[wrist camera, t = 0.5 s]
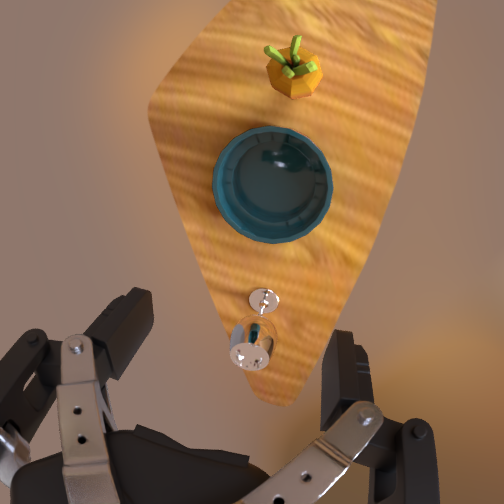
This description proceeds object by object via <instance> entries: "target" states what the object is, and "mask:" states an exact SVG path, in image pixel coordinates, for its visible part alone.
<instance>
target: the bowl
mask: <svg viewBox="0 0 504 504" xmlns="http://www.w3.org/2000/svg"><path fill="white" fill-rule="evenodd" d="M212 189H213V194H214V198H215V203H216V206H217V207H218V209H219V211H220V213H221V214H222V216H223V218H224V219H225V221H226V222H227V223H228V224H230V225H231V226H232V227H233V228H234V229H235V230H236V231H237V232H238V233H240V234H242V235H244V236H246V237H248V238H250V239H252V240H255V241H259V242H264V243H270V244H277V243H286V242H291V241H294V240H296V239H298V238H301V237H303V236H305V235H307V234H308V233H309V232H311V231H312V230H313V229H314V228H315V227H316V226H317V225H319V224H320V223H321V221H322V219H323V218H324V216H325V214H326V213H327V211H328V209H329V207H330V203H331V198H332V193H333V181H332V174H331V169H330V167H329V165H328V163H327V161H326V158H325V156H324V154H323V153H322V151H321V150H320V148H319V147H318V146H317V145H316V144H315V143H314V142H313V141H312V140H311V139H310V138H309V137H308V136H306V135H304V134H302V133H300V132H298V131H296V130H294V129H292V128H287V127H280V126H265V127H259V128H254V129H250V130H248V131H246V132H244V133H242V134H241V135H239V136H237V137H235V138H234V139H233V140H232V141H231V142H230V143H229V144H228V145H227V146H226V147H225V148H224V149H223V151H222V152H221V153H220V155H219V158H218V160H217V162H216V165H215V167H214V170H213V181H212Z"/></svg>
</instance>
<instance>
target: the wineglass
mask: <svg viewBox="0 0 504 504" xmlns="http://www.w3.org/2000/svg"><path fill="white" fill-rule="evenodd" d="M249 303H250V305H251V307H252V308H253V309H254V310H255V311H257V312H259V314H258V315H249V316H246V317H244V318H242V319H241V320H239V321H238V322H237V324H236V325H235V327H234V329H233V331H232V334H231V339H230V357H231V360H232V361H233V362H234V363H235V364H236V365H237V366H239V367H240V368H243V369H245V370H251V371H255V370H260V369H263V368H264V367H266V366H267V364H268V363H269V361H270V360H271V358H272V356H273V354H274V352H275V349H276V345H277V340H278V338H277V330H276V328H275V326H274V325H273V323H272V322H271V321H270V320H269V319H267V318H265V317H263V316H262V313H270V312H273V311H274V310H275V309H276V308H277V307H278V304H279V299H278V297H277V295H276V294H275V293H274V292H273V291H271V290H269V289H266V288H260V289H256V290H254V291H253V292H252V293H251V294H250V297H249Z"/></svg>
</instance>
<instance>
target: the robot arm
mask: <svg viewBox="0 0 504 504" xmlns="http://www.w3.org/2000/svg"><path fill="white" fill-rule="evenodd" d="M153 322H154V314H153V304H152V294H151V292H150V291H148V290H144V289H140V288H137V287H134V288H132V290H131V291H130V292H129V293H128V294H127V295H126V296H124V295H122V296H120V297H118V298H116V299H114V300H113V301H112V302H111V303H110V304H109V305H108V306H107V308H106V309H104V311H103V312H102V313H101V314H100V315H99V317H97V318H96V320H95V321H94V322H93V323H92V324H91V325H90V326H89V328H88V329H87V330H86V331H85V332H84V333H83V334H75V335H71V336H69V337H68V338H66V339H65V340H64V341H54V340H48V338H47V335H46V333H45V332H44V331H43V330H41V329H31V330H28V331H26V332H25V333H24V334H23V335H22V336H21V337H20V338H19V339H18V340H17V342H16V343H15V344H14V345H13V346H12V348H11V349H10V350H9V351H8V352H7V353H6V355H5V356H4V357H3V358H2V360H1V361H0V481H1V482H2V483H3V484H5V485H6V486H7V487H8V488H10V497H11V500H10V504H314V503H315V502H316V501H317V500H318V499H319V498H320V497H321V496H322V495H323V494H324V493H325V492H326V491H327V490H328V489H329V488H330V487H331V486H332V485H333V484H334V483H335V482H336V481H337V480H338V479H339V477H340V476H341V475H342V474H343V473H344V472H345V471H346V470H347V469H348V467H349V466H350V465H351V463H352V462H355V463H359V464H361V465H365V466H367V467H370V476H369V494H368V504H440V494H439V478H438V468H437V459H436V458H437V457H436V449H435V441H434V434H433V430H432V428H431V427H430V425H429V424H428V423H427V422H426V421H424V420H422V419H418V418H414V419H410V420H408V421H407V422H406V423H405V424H402V423H399V422H396V421H393V420H390V419H387V418H386V417H384V416H383V414H382V411H381V410H380V408H378V406H376V405H375V404H374V397H373V389H372V382H371V375H370V368H369V362H368V356H367V353H366V352H365V350H364V349H363V347H362V346H361V345H355V344H354V340H353V334H352V332H348V331H342V330H336V329H335V330H334V332H333V334H332V336H331V339H330V341H329V344H328V347H327V349H326V352H325V355H324V358H323V363H322V392H321V425H320V426H321V427H320V431H326V432H325V433H324V434H323V435H322V436H321V437H320V438H318V439H315V440H314V441H312V443H310V444H309V445H308V446H307V447H306V448H305V449H304V450H302V452H300V453H299V454H298V455H297V456H296V457H294V458H293V459H292V460H291V461H290V462H289V463H287V464H286V465H285V466H284V467H283V468H282V469H280V470H279V471H278V472H277V473H275V474H274V475H273V476H272V477H270V476H269V475H268V474H266V472H264V471H263V470H261V469H260V468H258V467H256V466H255V465H252V464H250V463H248V461H249V456H247V455H242V454H237V453H232V452H228V451H223V450H208V449H190V448H187V447H185V446H183V445H181V444H180V443H178V442H176V441H175V440H173V439H171V438H170V437H168V436H166V435H165V434H163V433H160V432H157V431H155V430H152V429H149V428H146V427H144V426H141V425H138V424H137V425H136V427H135V429H134V430H118V429H117V426H116V424H115V420H114V417H113V412H112V408H111V403H110V399H109V393H108V388H107V384H106V382H107V380H108V379H109V377H110V378H113V379H115V380H119V378H120V377H121V375H122V374H123V372H124V371H125V369H126V367H127V366H128V364H129V363H130V361H131V360H132V358H133V357H134V355H135V353H136V352H137V350H138V349H139V347H140V346H141V344H142V343H143V341H144V340H145V338H146V337H147V335H148V334H149V332H150V331H151V329H152V326H153ZM33 372H34V373H35V374H36V375H35V376H34V378H33V379H32V380H31V382H30V383H29V384H28V386H27V387H26V389H25V390H24V392H23V389H24V385H25V383H26V382H27V381H28V379H29V378H30V377H31V375H32V374H33ZM56 398H57V409H58V420H59V431H60V440H61V447H62V451H61V452H59V453H56V454H54V455H51V456H48V457H45V458H42V459H39V460H36V461H34V462H31V457H30V447H29V443H30V441H31V440H32V438H33V436H34V434H35V433H36V431H37V429H38V428H39V426H40V424H41V422H42V421H43V419H44V417H45V416H46V414H47V413H48V411H49V409H50V408H51V406H52V404H53V403H54V401H55V400H56Z"/></svg>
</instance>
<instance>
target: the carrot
mask: <svg viewBox="0 0 504 504" xmlns="http://www.w3.org/2000/svg"><path fill="white" fill-rule="evenodd" d="M301 37H302V36H300V35H295V36H293V39H292V43H291V47H289V48H285V49H280V50H276V49H275V48H273V47H272V46H270V45H269V46H266V47H265V48H264V52H265V54H266V55H268V56H269V57H271V58H272V59H271V60H270V62H269V63H268V65H267V66H266V68H267V72H268V75H269V78H270V82H271V85H272V87H273V88H274V89H275V90H277V91H279V92H281V93H282V94H284V95H286V96H288V97H290V98H291V99H297V98H302V97H307V96H311V94H312V93H313V91H314V90H315V88H316V87H317V85H318V84H319V82H320V81H321V79H322V77H323V74H322V70H321V67H320V64H319V61H318V57H317V56H316V55H314V54H312V53H311V52H309V51H307V50H305V49H303V48H301V47H299V45H300V41H301Z"/></svg>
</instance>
